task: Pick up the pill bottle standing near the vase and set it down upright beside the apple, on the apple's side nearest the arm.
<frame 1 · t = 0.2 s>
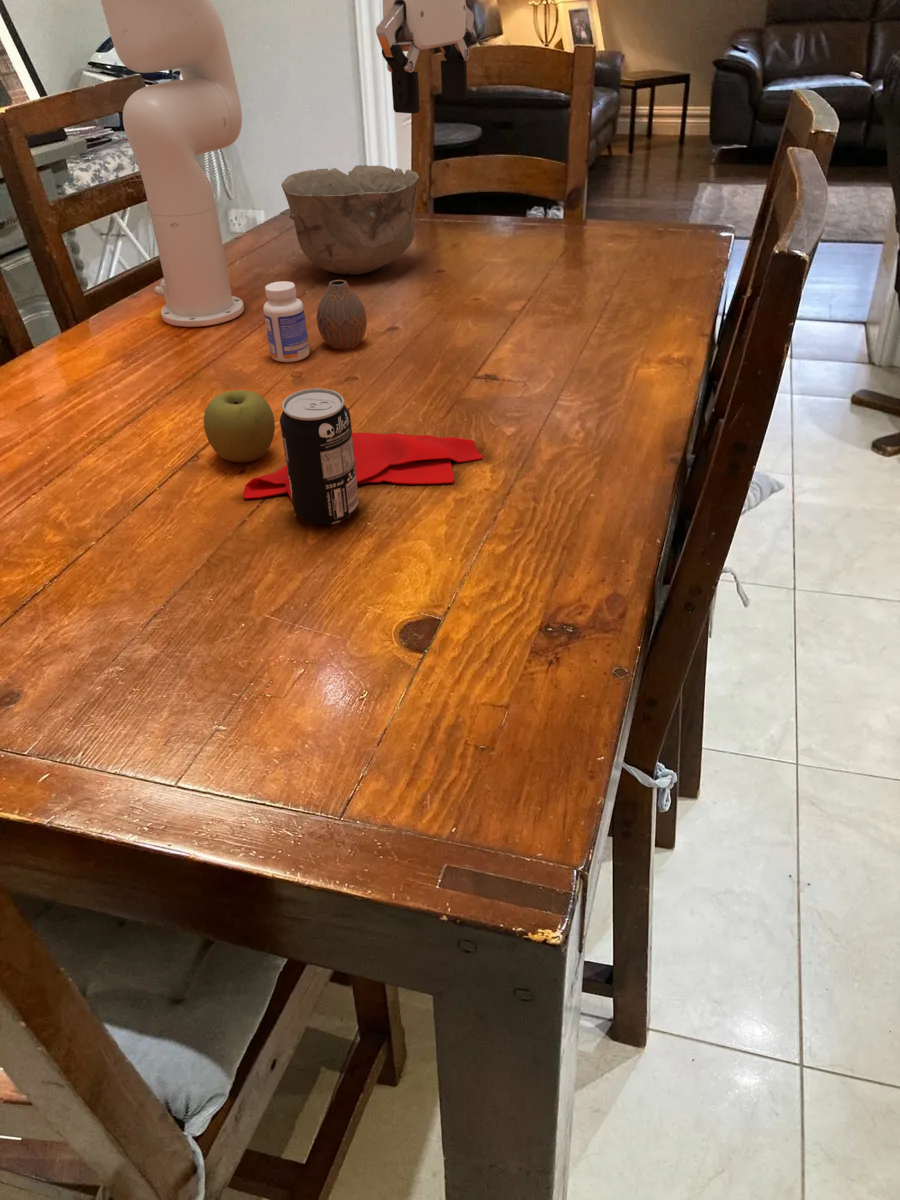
hand: (431, 105, 107), 31 cm above the table, tool pointing down, fingers open, 9 cm apart
bowl: (358, 272, 161), on the table
apple: (245, 458, 105), on the table
cloth: (364, 466, 102), on the table, touching beverage can
vase: (344, 345, 133), on the table
beverage can: (327, 511, 94), on the table, touching cloth
pill bottle: (290, 357, 130), on the table
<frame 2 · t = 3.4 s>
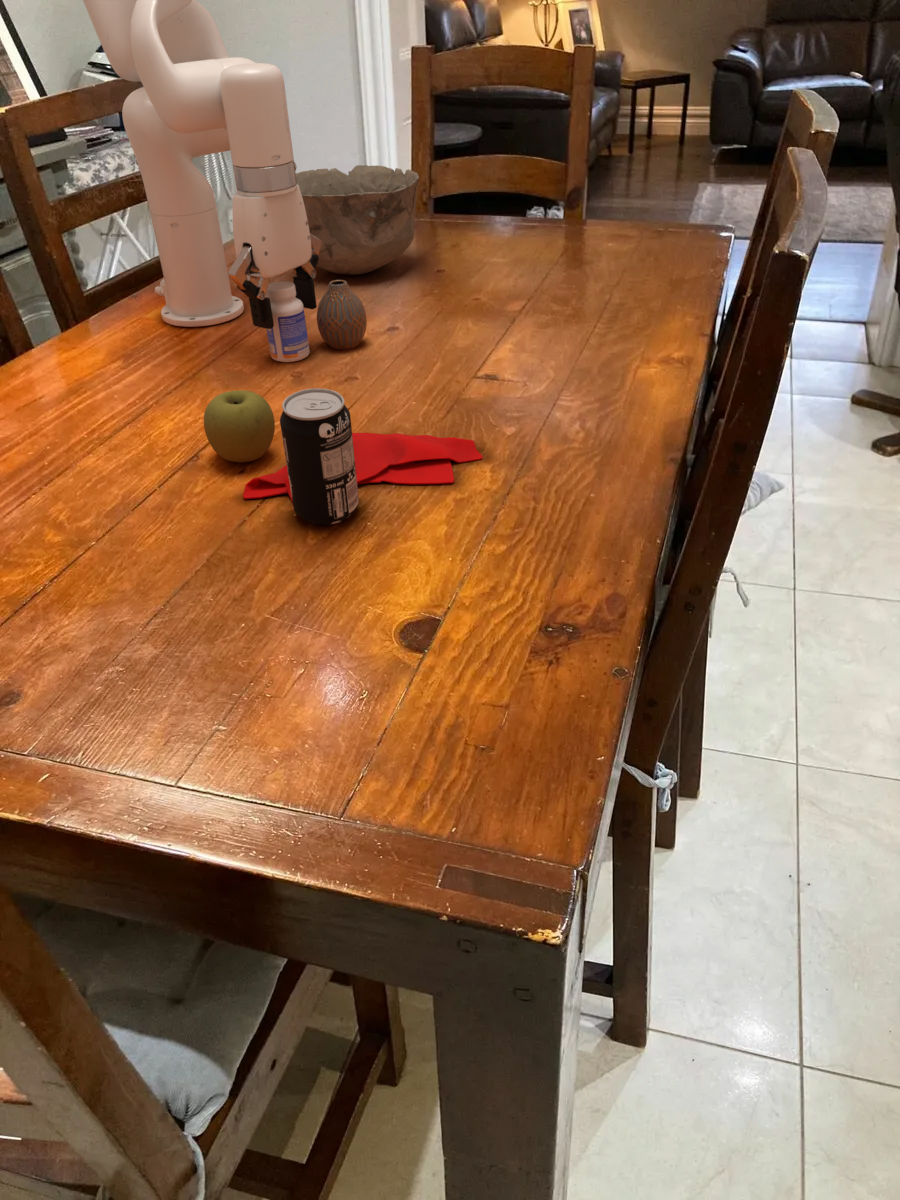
hand: (285, 316, 126), 6 cm above the table, tool pointing down, fingers open, 8 cm apart
nothing on the table moved.
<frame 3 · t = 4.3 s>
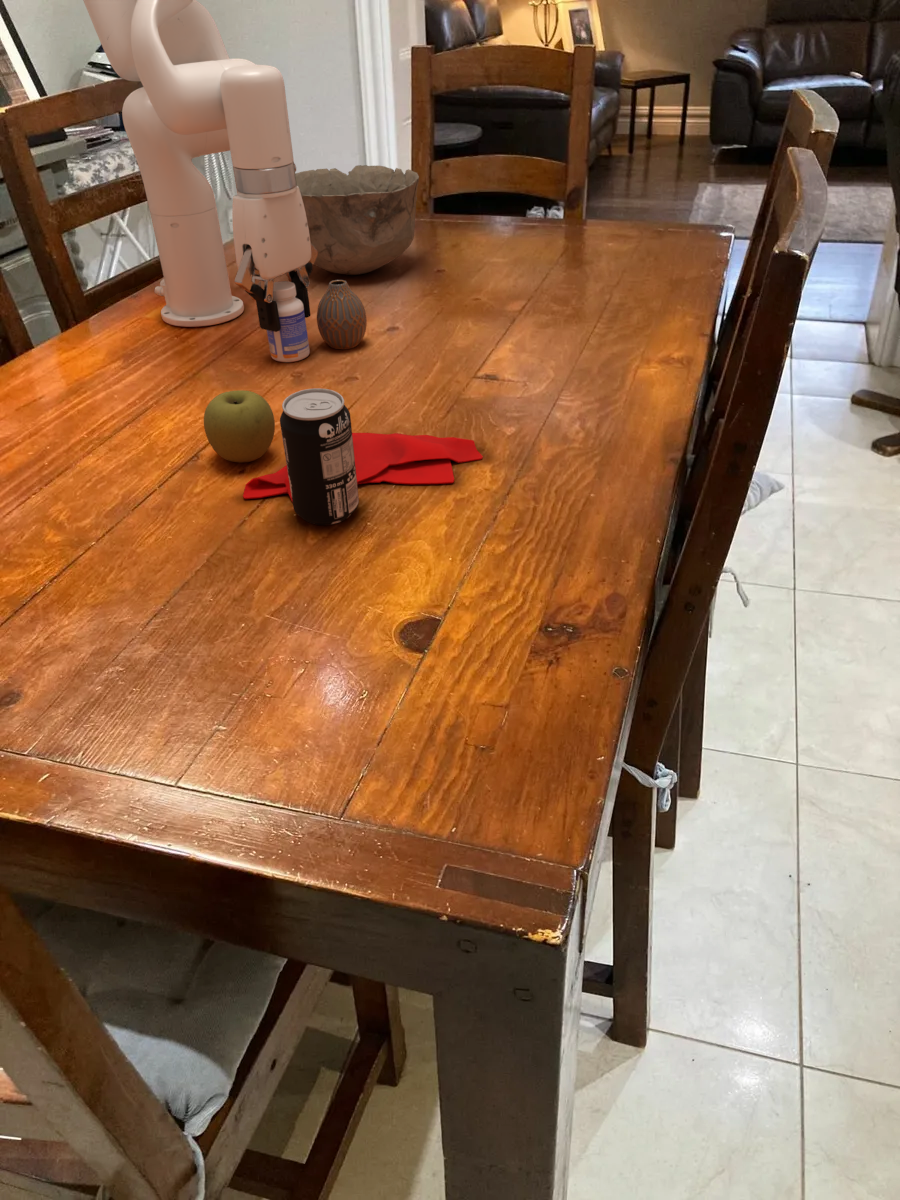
hand: (285, 321, 127), 5 cm above the table, tool pointing down, fingers closed on pill bottle, 5 cm apart
pill bottle: (290, 357, 130), on the table, touching gripper
everything else where it was.
when the fingers open (5 cm above the table, at t = 11.7 s): pill bottle stays where it is, on the table.
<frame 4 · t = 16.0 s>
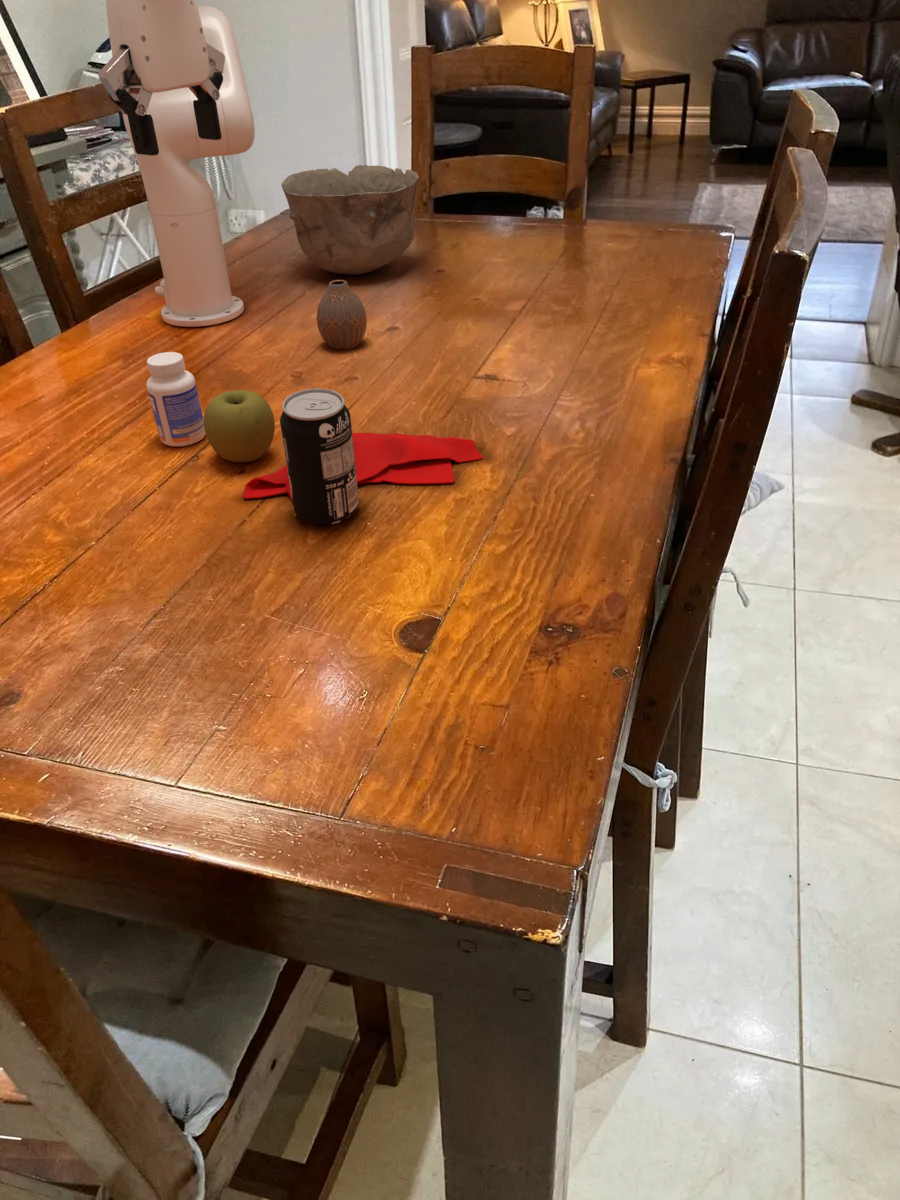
hand: (180, 146, 107), 28 cm above the table, tool pointing down, fingers open, 9 cm apart
pill bottle: (183, 439, 110), on the table
everything else where it was.
at the end: pill bottle 0.3 cm from the target spot on the table beside the apple, on the table; pill bottle tilted 0°; the gripper is holding nothing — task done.
